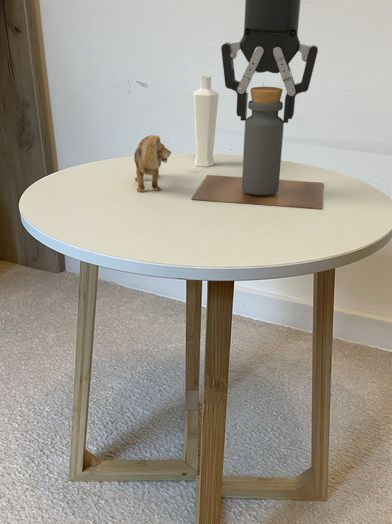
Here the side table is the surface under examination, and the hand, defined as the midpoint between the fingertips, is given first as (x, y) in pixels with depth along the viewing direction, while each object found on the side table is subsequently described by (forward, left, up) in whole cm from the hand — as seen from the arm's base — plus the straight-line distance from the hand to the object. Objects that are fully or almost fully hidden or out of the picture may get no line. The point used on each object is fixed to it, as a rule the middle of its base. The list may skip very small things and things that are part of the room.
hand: (264, 120), depth 90 cm
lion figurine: (+18, 0, -11) cm, 21 cm away
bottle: (0, 0, -11) cm, 11 cm away
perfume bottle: (+12, -16, -11) cm, 23 cm away
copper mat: (0, -1, -11) cm, 11 cm away
